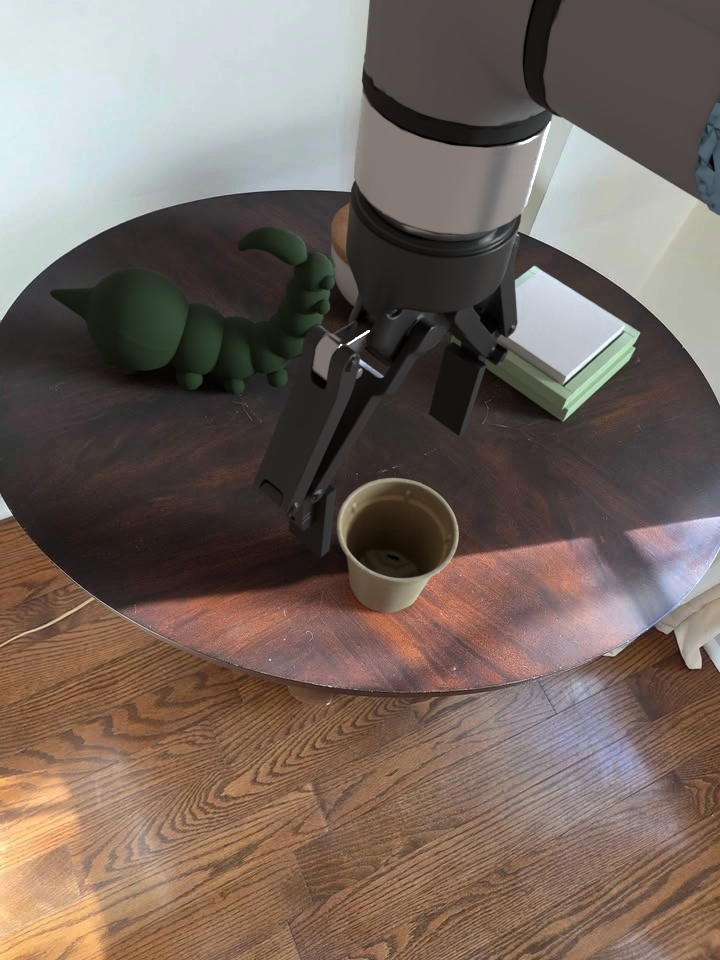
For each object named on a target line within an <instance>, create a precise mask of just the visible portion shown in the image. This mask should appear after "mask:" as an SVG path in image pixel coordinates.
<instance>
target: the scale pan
mask: <svg viewBox="0 0 720 960" xmlns="http://www.w3.org/2000/svg"><path fill="white" fill-rule="evenodd" d="M542 271H543V270H542ZM542 271H539V272H537V273H536V274H535V275H533V276H532V277H531V278H529V279H528V280H527V281H525V282H524V283H523V284H521V285H520V286H519V287H517V288H516V289H515V291H516V307H517V326H516V329H515V331H514V332H513V334H511V335H510V336H509V337H508V338H506V337H504V336H503V335H500V336H499V337H498V338H497V339H496V341H497V342H498V343H500V344H501V345H503V346H504V347H506V348H507V349H509V350H510V351H512V352H513V353H514V354H516V355H517V356H519V357H520V358H522V359H523V360H525V361H526V362H528V363H529V364H531V365H532V366H533V367H535V368H536V369H538V370H539V371H541V372H542V373H544V374H545V375H547V376H548V377H549V378H551V379H552V380H554V381H555V382H557V383H558V384H560V385H561V386H563V385H564V384H566V383H567V382H568V381H569V380H570V379H571V378H572V377H573V376H575V375H576V374H577V373H578V372H579V371H580V370H581V369H582V368H584V367H585V366H586V365H587V364H588V363H589V362H590V361H591V360H593V359H594V358H595V357H596V356H597V355H598V354H599V353H600V352H601V351H603V350H604V349H605V348H606V347H607V346H608V345H609V344H610V343H612V342H613V341H614V340H615V339H616V338H617V337H618V336H619V335H620V334H621V332H622V330H623V328H624V326H625V324H624V323H625V322H624V323H622V322H621V321H622V320H621V321H619V320H618V319H619V318H618V319H616V318H617V317H616V316H615V317H616V318H615V317H613V316H614V315H613V316H611V315H610V314H611V313H610V314H608V313H609V312H608V311H607V312H608V313H607V312H605V311H606V310H605V311H603V310H602V309H603V308H602V309H600V308H601V307H600V306H599V307H600V308H599V307H597V306H598V305H597V304H596V305H597V306H596V305H594V304H595V303H594V304H592V303H591V302H592V301H591V302H589V301H590V300H589V299H588V300H589V301H588V300H586V299H587V298H586V299H584V298H583V297H584V296H583V297H581V296H582V295H581V294H580V295H581V296H580V295H578V294H579V293H578V294H576V293H575V292H576V291H575V292H573V291H574V290H573V289H572V290H573V291H572V290H570V289H571V288H570V287H569V288H570V289H569V288H567V287H568V286H567V287H565V286H564V285H565V284H564V285H562V284H563V283H562V282H561V283H562V284H561V283H559V282H560V281H559V282H557V281H556V280H557V279H556V280H554V279H555V278H554V277H553V278H554V279H553V278H551V277H552V276H551V275H550V276H551V277H550V276H548V275H549V274H548V275H546V274H547V273H546V272H545V273H546V274H545V273H543V272H544V271H543V272H542Z"/></svg>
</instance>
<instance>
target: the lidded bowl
mask: <svg viewBox="0 0 720 960" xmlns="http://www.w3.org/2000/svg"><path fill="white" fill-rule="evenodd" d="M349 206H350V202H348V203H346V204H345V205H344V206H343V207H341V208H340V209H339V210H338V211H337V212H336V213H335V216H334V217H333V218H332V222H331V225H330V242H331V243H330V251H331V252H330V257H332V258H333V259H334V260H335V262H336V266H335V268H334V270H333V272H334V273H333V278H334V280H335V284H336V286H337V288H338V291H339V292H340V294H341V295H342V297H343V298H344V299H345V300H346V302H347V303H349V304H350V305H351V306H352V307H353V308H354V306H355V303H356V300H357V297H358V288H357V285H356V282H355V279H354V276H353V274H352V271H351V269H350V266H349V263H348V260H347V255H346V238H347V227H348V217H349Z"/></svg>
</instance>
